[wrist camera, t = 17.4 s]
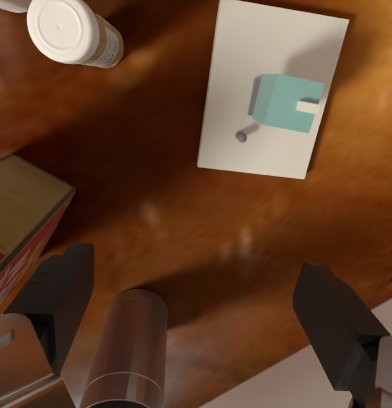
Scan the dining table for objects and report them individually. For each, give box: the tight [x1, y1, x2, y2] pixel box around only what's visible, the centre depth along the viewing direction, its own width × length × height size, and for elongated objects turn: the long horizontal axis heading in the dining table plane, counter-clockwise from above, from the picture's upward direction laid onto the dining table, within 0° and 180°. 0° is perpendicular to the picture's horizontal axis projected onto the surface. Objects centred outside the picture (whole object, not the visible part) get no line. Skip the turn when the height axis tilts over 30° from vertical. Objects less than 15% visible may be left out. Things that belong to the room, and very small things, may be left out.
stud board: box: [197, 0, 349, 179], centre depth 34 cm, size 18×14×5 cm
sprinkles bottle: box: [27, 0, 124, 68], centre depth 27 cm, size 5×5×14 cm
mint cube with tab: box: [252, 73, 325, 133], centre depth 29 cm, size 4×4×6 cm
